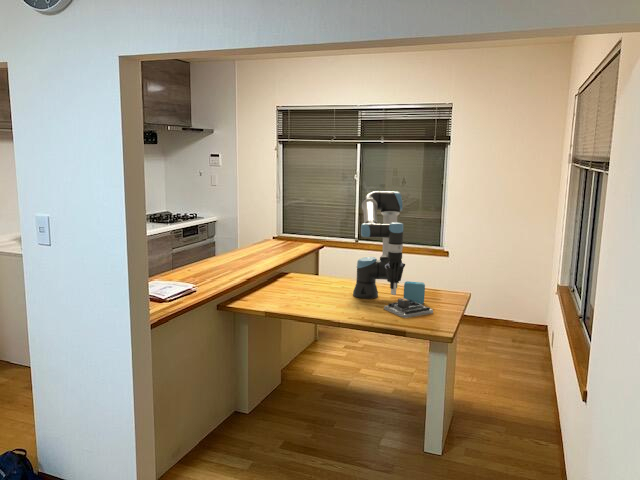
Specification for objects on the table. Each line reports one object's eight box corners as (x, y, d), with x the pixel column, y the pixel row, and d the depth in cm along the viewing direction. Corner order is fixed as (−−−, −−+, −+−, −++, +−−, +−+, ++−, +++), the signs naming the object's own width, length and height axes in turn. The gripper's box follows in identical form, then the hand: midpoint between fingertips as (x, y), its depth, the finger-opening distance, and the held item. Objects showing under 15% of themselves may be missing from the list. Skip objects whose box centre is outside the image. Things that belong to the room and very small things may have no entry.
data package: (424, 302, 315) (425, 282, 313) (424, 304, 310) (425, 284, 308) (403, 300, 317) (404, 281, 315) (403, 302, 312) (404, 283, 310)
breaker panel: (383, 309, 299) (384, 303, 298) (411, 304, 309) (411, 298, 308) (404, 318, 284) (404, 311, 283) (432, 313, 294) (433, 306, 293)
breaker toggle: (397, 307, 295) (397, 298, 294) (403, 306, 297) (403, 297, 296) (403, 309, 291) (403, 300, 290) (408, 309, 293) (409, 299, 292)
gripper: (389, 253, 278) (388, 297, 282) (409, 251, 285) (407, 294, 289) (381, 251, 285) (379, 294, 289) (400, 249, 291) (398, 291, 295)
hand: (393, 294), depth 289 cm, fingers closed
